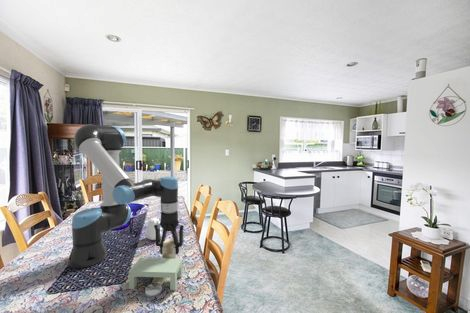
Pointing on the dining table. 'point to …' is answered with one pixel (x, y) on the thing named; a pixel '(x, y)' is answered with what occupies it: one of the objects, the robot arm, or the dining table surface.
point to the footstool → (156, 270)
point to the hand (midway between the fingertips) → (169, 260)
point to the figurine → (152, 229)
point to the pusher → (167, 253)
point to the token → (153, 290)
